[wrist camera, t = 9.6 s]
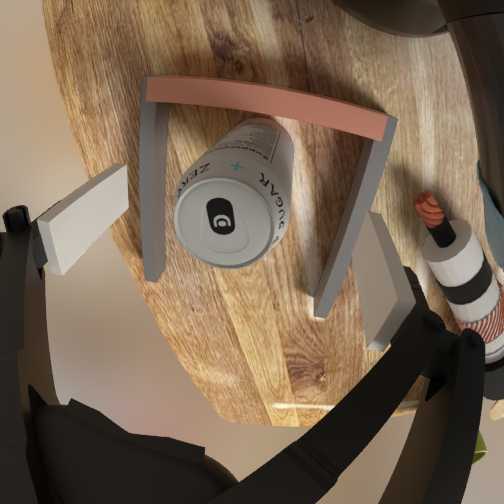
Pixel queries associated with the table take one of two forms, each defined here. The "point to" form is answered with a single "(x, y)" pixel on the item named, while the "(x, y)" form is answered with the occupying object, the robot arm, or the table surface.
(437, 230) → the cable
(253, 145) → the energy drink can
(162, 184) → the guide lane
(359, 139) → the table surface
